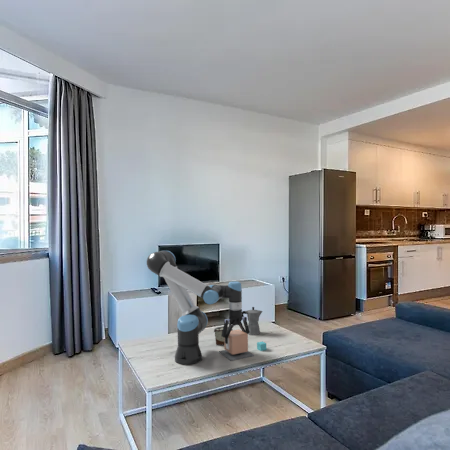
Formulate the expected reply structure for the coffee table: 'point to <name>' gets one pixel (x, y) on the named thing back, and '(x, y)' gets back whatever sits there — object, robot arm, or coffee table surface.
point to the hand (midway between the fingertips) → (235, 347)
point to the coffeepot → (253, 320)
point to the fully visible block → (261, 346)
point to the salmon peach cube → (237, 342)
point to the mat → (235, 355)
